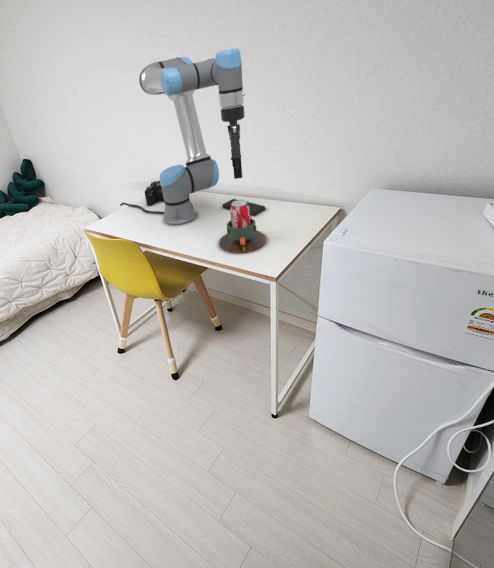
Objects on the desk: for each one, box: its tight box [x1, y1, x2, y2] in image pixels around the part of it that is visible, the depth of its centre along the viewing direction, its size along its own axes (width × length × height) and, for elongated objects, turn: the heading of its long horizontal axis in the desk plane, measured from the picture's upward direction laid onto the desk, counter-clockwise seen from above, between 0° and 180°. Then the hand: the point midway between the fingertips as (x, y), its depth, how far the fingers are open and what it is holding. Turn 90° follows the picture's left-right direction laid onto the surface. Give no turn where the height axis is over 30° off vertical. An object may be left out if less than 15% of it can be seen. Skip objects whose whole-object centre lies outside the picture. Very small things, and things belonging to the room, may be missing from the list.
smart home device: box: [222, 198, 266, 217], centre depth 162 cm, size 8×2×20 cm
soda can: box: [229, 199, 251, 228], centre depth 130 cm, size 7×7×12 cm
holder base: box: [218, 230, 267, 254], centre depth 135 cm, size 18×18×3 cm
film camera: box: [144, 179, 164, 206], centre depth 188 cm, size 18×12×10 cm
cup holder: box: [226, 217, 257, 245], centre depth 131 cm, size 14×11×5 cm
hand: (237, 171), depth 124 cm, fingers open, 13 cm apart
